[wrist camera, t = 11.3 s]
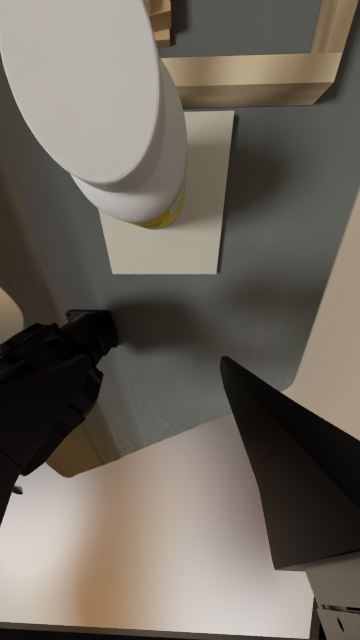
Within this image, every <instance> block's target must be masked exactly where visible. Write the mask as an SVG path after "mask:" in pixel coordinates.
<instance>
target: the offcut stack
mask: <svg viewBox="0 0 360 640" xmlns="http://www.w3.org/2000/svg"><path fill="white" fill-rule="evenodd" d="M143 2H144V5H145V7H146V10H147V13H148V16H149V19H150V22H151V26H152V29H153V33H154V37H155V40H156V45H157V48H160V47H170V28H172V21H171V5H170V0H143Z"/></svg>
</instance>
